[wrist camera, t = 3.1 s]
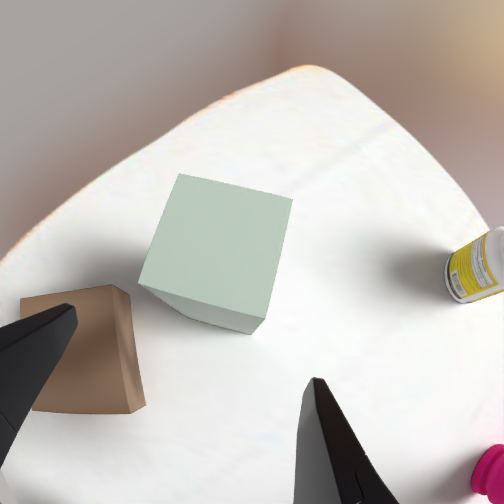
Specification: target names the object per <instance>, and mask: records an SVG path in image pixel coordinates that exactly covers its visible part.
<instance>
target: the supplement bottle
mask: <svg viewBox="0 0 504 504" xmlns="http://www.w3.org/2000/svg"><path fill="white" fill-rule="evenodd" d="M444 275H445V282H446V286H447V288H448V290H449V292H450V294H451V295H452V297H453V298H454V299H455V300H457V301H458V302H460V303H464V304H467V303H472V302H475V301H478V300H481V299H484V298H487V297H489V296H492V295H495V294H498V293H500V292H503V291H504V227H503V226H498V227H495V228H493V229H492V230H490V231H488V232H487V233H485V234H484V235H482V236H481V237H479V238H477V239H476V240H474V241H472V242H471V243H469V244H468V245H466V246H464V247H463V248H461V249H459V250H458V251H456V252H454V253H453V254H452V255H451V256H450V257H449V258H448V260H447V262H446V265H445V273H444Z"/></svg>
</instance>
